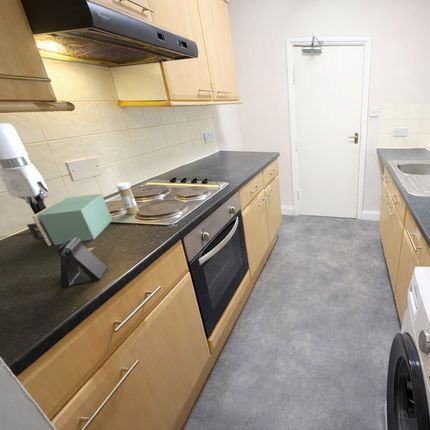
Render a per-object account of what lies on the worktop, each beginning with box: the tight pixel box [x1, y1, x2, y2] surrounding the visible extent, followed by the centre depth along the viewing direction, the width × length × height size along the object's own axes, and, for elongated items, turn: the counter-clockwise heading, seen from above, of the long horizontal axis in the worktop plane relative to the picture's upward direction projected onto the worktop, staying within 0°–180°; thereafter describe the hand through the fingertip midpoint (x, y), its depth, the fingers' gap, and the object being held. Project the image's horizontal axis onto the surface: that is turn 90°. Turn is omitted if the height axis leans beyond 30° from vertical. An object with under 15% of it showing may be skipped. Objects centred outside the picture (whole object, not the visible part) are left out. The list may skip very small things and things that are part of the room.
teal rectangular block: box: [39, 193, 113, 246], centre depth 100 cm, size 12×17×12 cm
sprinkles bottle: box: [116, 182, 140, 215], centre depth 115 cm, size 5×5×13 cm
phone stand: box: [56, 237, 108, 289], centre depth 74 cm, size 9×6×12 cm, turn 109°
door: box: [26, 197, 66, 246], centre depth 98 cm, size 4×17×12 cm, turn 14°
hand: (41, 212), depth 95 cm, fingers closed
